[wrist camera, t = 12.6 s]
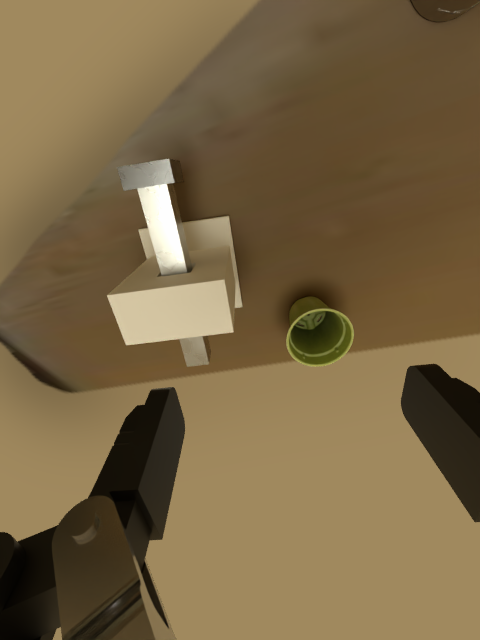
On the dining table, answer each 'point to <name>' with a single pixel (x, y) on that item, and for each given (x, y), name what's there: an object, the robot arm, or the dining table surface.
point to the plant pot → (317, 333)
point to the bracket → (181, 289)
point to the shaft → (166, 230)
